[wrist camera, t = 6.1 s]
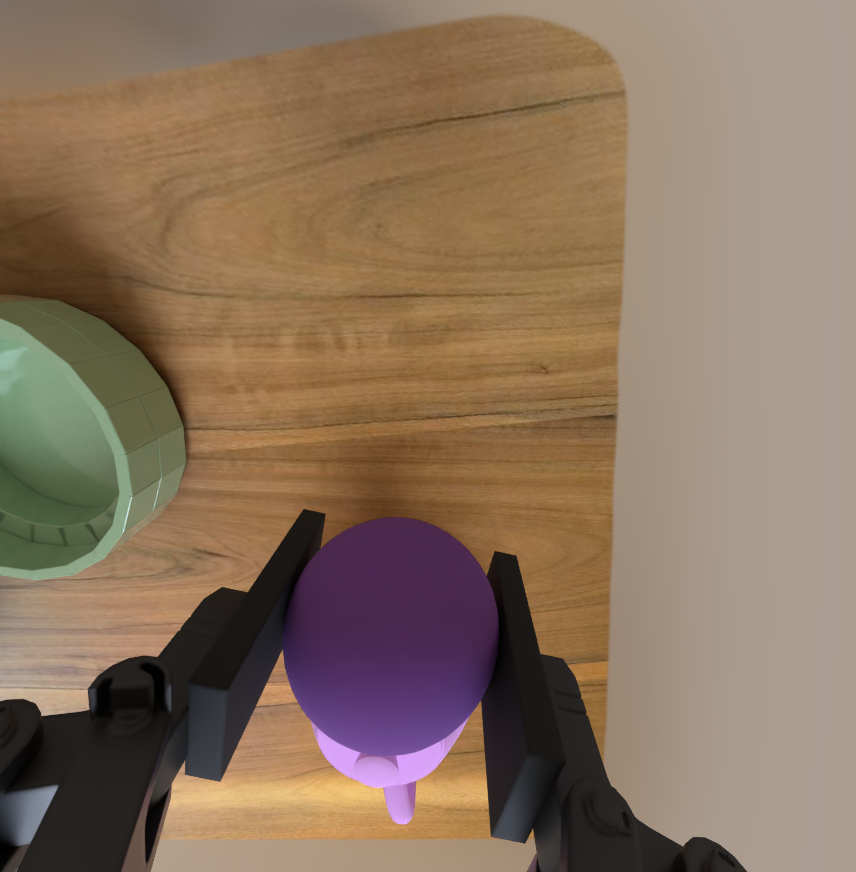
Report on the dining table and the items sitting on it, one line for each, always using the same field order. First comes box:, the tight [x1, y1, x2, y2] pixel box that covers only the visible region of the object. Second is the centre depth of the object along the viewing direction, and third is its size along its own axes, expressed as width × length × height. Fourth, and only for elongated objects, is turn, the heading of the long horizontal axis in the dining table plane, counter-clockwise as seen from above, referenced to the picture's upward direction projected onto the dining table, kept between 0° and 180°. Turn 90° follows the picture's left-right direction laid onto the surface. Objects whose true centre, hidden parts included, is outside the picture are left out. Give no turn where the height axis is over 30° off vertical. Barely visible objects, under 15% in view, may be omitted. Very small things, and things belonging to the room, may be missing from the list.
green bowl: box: [0, 295, 186, 580], centre depth 27 cm, size 18×18×6 cm
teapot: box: [311, 717, 469, 824], centre depth 30 cm, size 14×20×11 cm
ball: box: [282, 517, 500, 756], centre depth 12 cm, size 6×6×6 cm
